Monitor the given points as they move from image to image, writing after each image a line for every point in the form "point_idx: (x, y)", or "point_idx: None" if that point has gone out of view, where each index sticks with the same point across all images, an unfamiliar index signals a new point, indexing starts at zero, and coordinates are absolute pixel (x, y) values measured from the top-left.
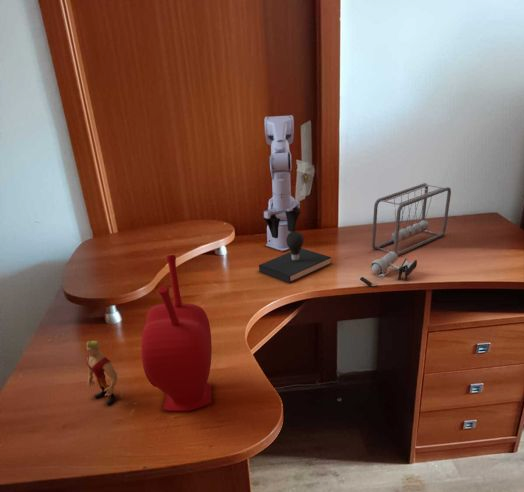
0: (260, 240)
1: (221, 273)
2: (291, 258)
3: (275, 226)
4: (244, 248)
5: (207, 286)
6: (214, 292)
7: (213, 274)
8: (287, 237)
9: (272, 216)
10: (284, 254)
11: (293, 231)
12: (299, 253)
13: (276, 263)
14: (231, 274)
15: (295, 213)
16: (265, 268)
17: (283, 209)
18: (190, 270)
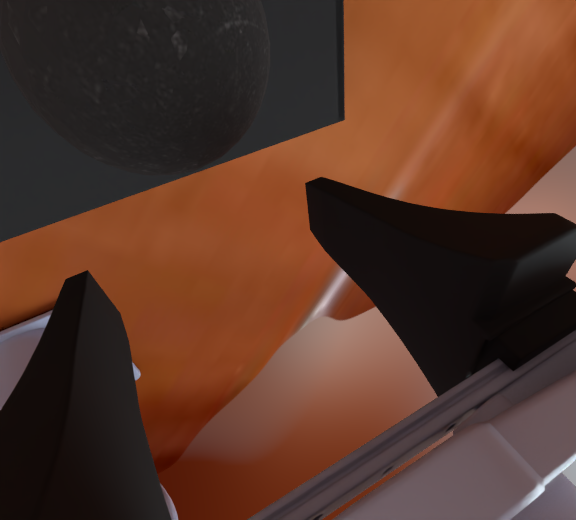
0: None
1: (415, 182)
2: None
3: (450, 210)
4: (228, 361)
5: (512, 96)
6: (547, 19)
7: (433, 187)
8: (263, 93)
9: (563, 321)
10: (138, 191)
11: (185, 116)
12: (6, 154)
13: None
14: (404, 153)
15: (58, 507)
16: (340, 57)
17: (559, 471)
18: None
